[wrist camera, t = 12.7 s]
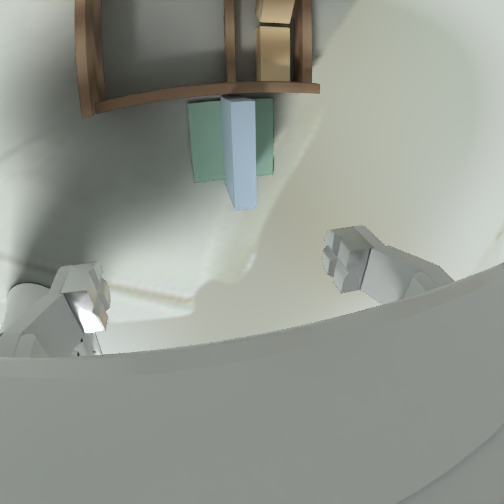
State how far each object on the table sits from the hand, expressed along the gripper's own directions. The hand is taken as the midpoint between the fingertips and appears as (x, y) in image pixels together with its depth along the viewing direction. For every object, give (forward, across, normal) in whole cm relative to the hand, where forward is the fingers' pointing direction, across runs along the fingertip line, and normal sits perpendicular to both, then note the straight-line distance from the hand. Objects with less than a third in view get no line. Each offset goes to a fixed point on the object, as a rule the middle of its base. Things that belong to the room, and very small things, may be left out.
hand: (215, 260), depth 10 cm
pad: (+23, +4, -1) cm, 24 cm away
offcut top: (+21, +9, +16) cm, 28 cm away
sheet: (+23, +4, -1) cm, 23 cm away
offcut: (+23, +9, +9) cm, 26 cm away
